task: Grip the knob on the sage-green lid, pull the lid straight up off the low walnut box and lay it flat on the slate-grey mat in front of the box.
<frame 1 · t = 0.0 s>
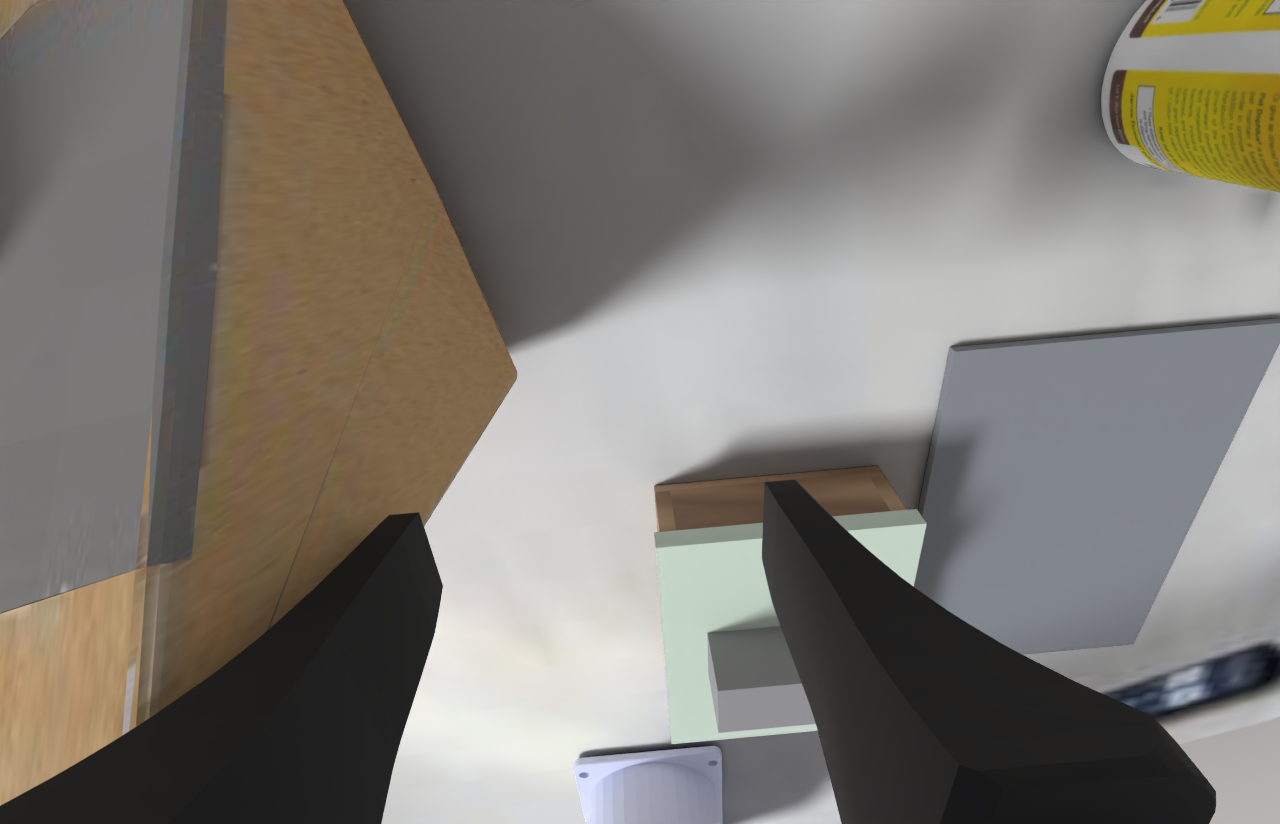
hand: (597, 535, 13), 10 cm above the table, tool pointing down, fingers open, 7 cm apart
walnut box: (762, 576, 27), on the table
slate mat: (1052, 515, 26), on the table
supplement bottle: (1182, 63, 18), on the table
lid: (776, 620, 25), point 2 cm above the table, touching walnut box
sandwich container: (290, 174, 17), point 1 cm above the table, touching gripper
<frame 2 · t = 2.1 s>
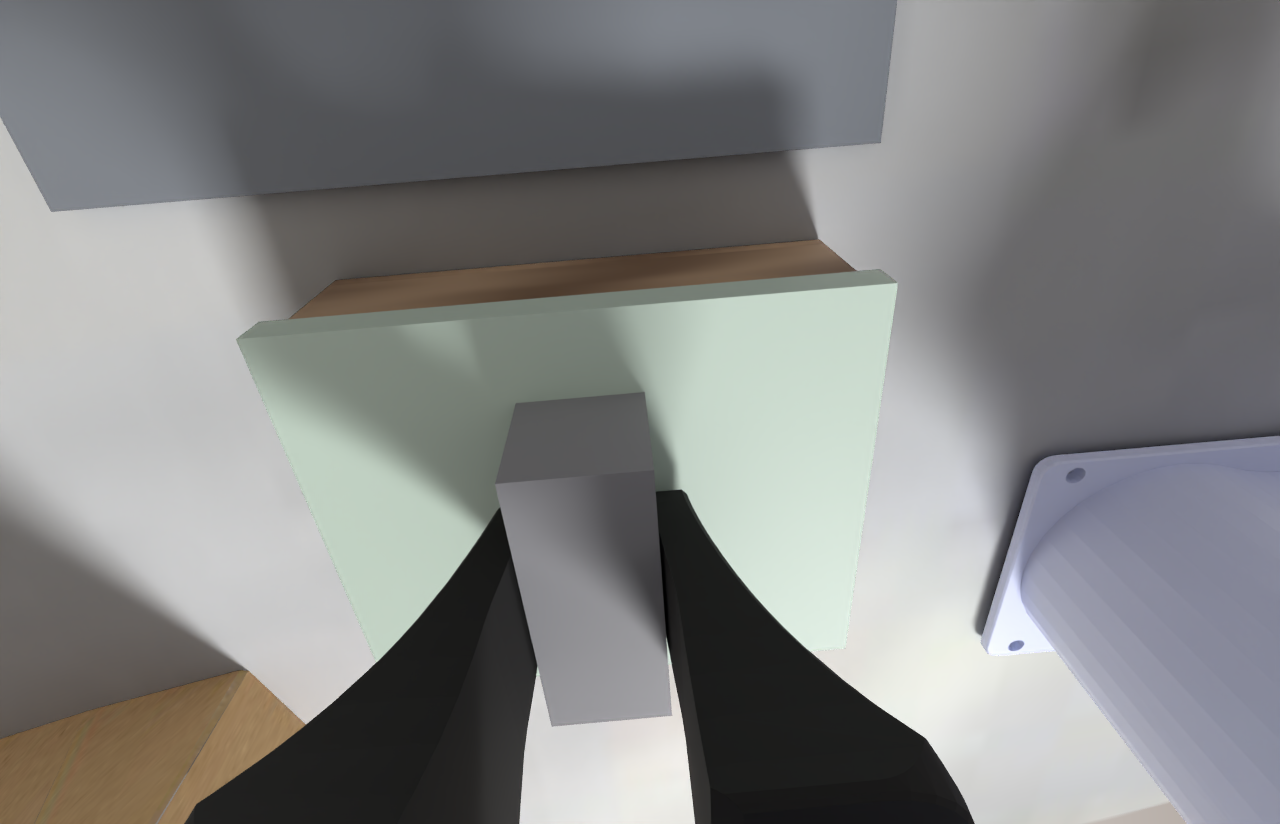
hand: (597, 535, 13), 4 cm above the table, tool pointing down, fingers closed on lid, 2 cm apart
walnut box: (598, 428, 16), on the table
lid: (597, 485, 14), point 2 cm above the table, touching gripper, walnut box
sandwich container: (145, 775, 23), on the table
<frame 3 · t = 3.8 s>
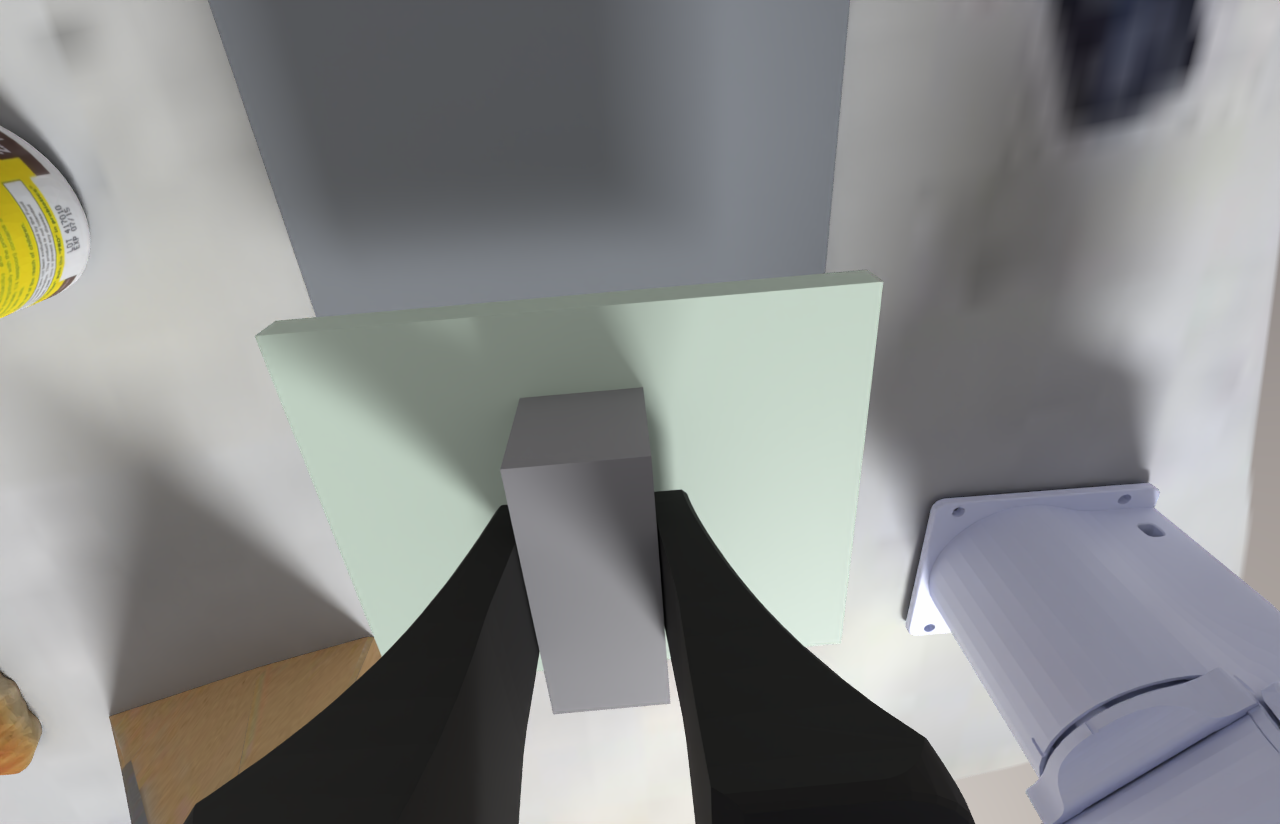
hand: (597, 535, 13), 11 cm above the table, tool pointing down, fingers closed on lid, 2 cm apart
slate mat: (554, 148, 19), on the table
supplement bottle: (5, 204, 19), on the table
lid: (598, 481, 14), point 8 cm above the table, touching gripper
sandwich container: (288, 718, 32), on the table
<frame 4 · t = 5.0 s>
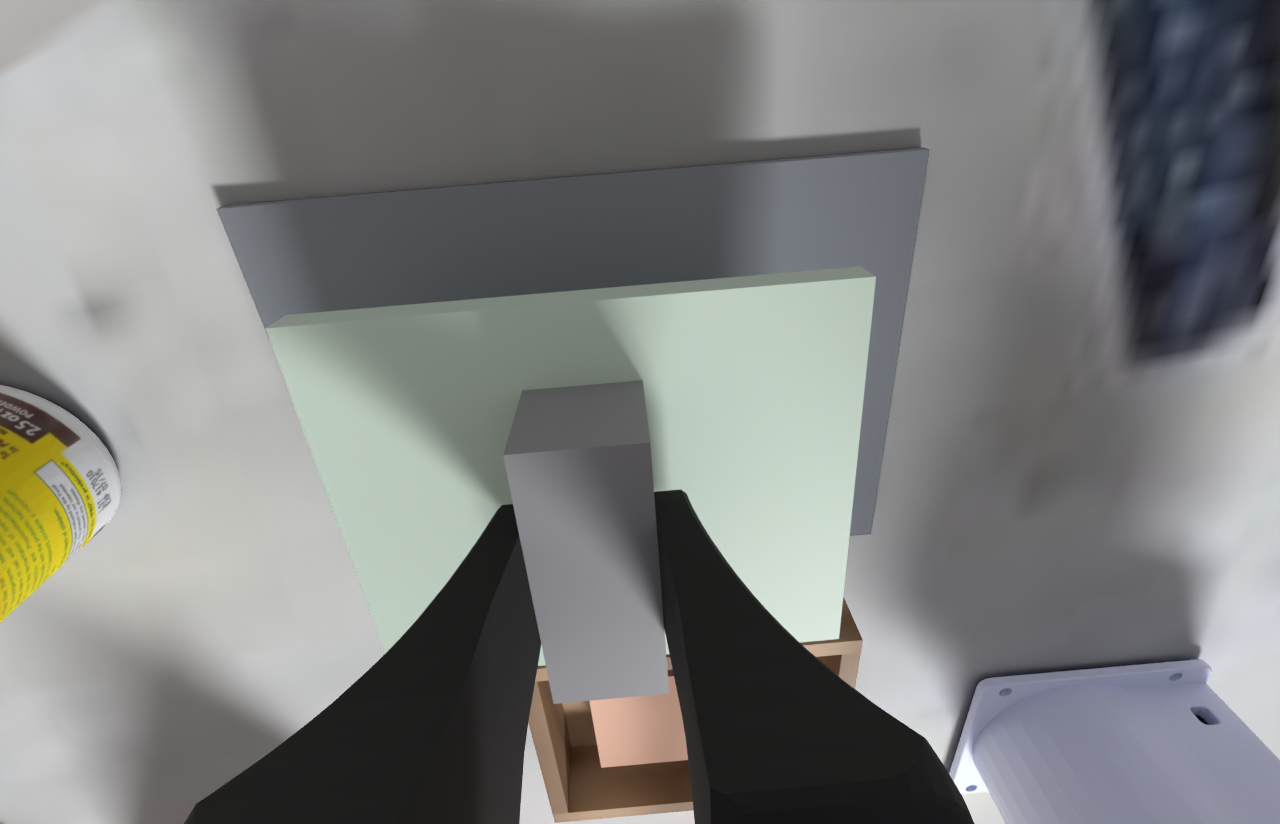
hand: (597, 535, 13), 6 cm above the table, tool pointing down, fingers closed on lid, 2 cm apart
walnut box: (683, 667, 24), on the table
slate mat: (600, 392, 18), on the table
supplement bottle: (32, 452, 18), on the table
lid: (598, 476, 15), point 4 cm above the table, touching gripper
when the fingers open (4 cm above the table, at t = 5.7 s): lid stays where it is, resting on slate mat.
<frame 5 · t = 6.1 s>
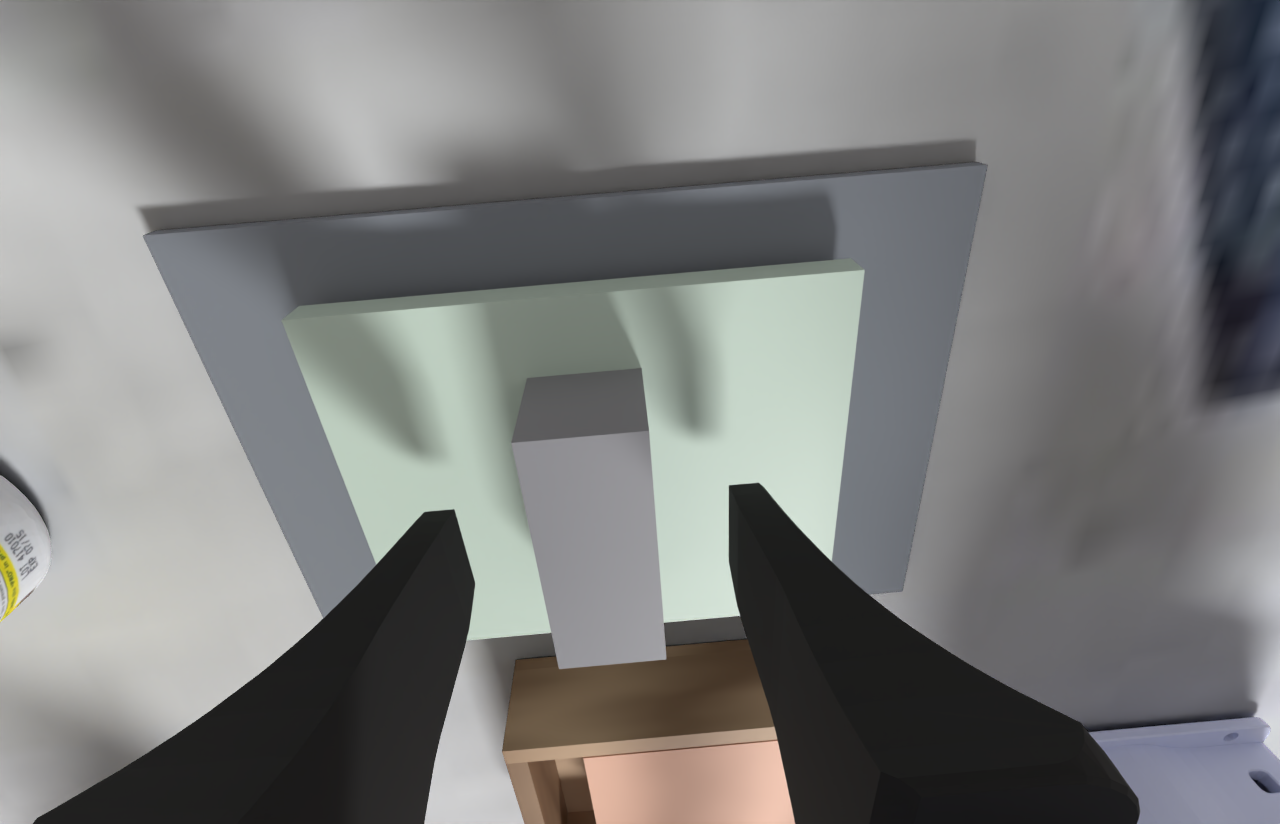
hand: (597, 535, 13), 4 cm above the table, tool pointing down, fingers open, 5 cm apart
walnut box: (691, 729, 22), on the table
slate mat: (598, 440, 16), on the table
lid: (599, 456, 15), resting on slate mat
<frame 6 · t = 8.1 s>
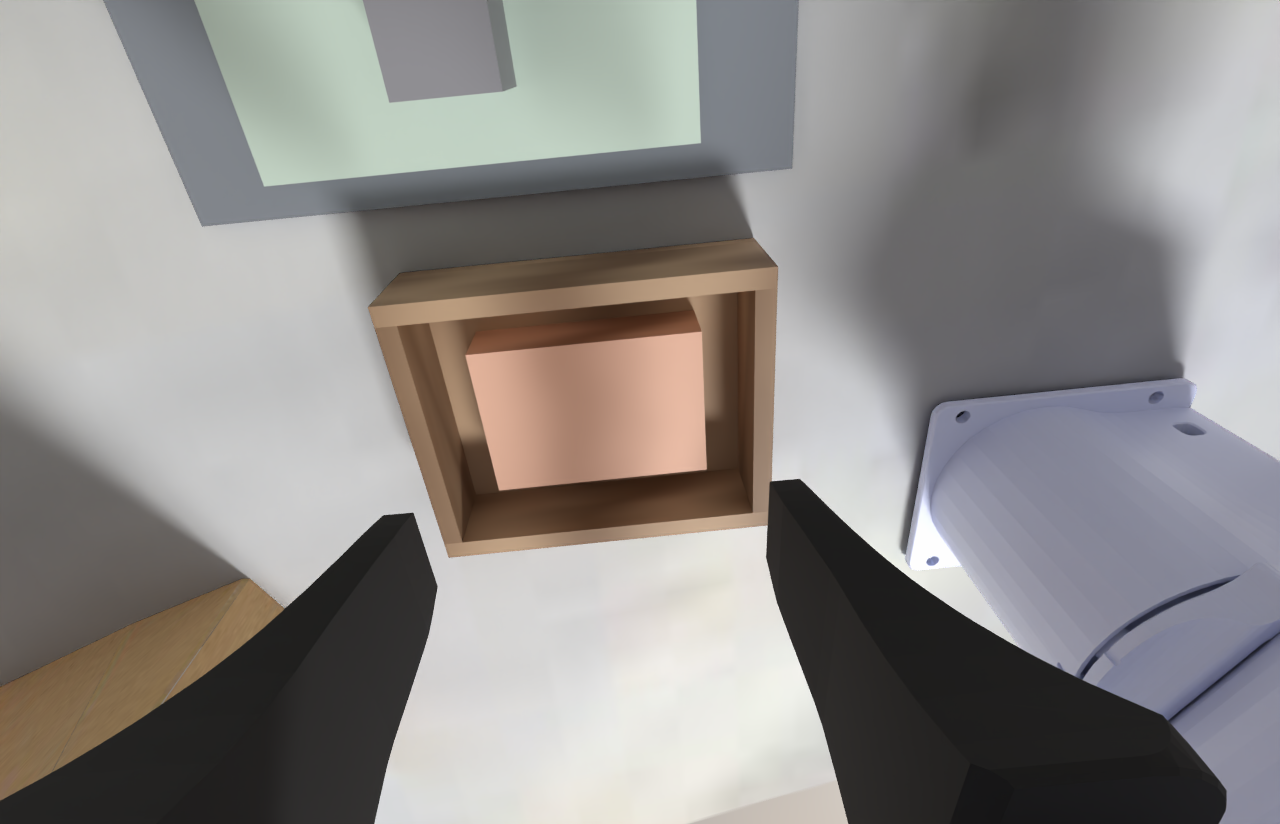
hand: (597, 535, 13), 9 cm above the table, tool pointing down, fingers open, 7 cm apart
walnut box: (594, 384, 21), on the table
sandwich container: (185, 684, 28), on the table
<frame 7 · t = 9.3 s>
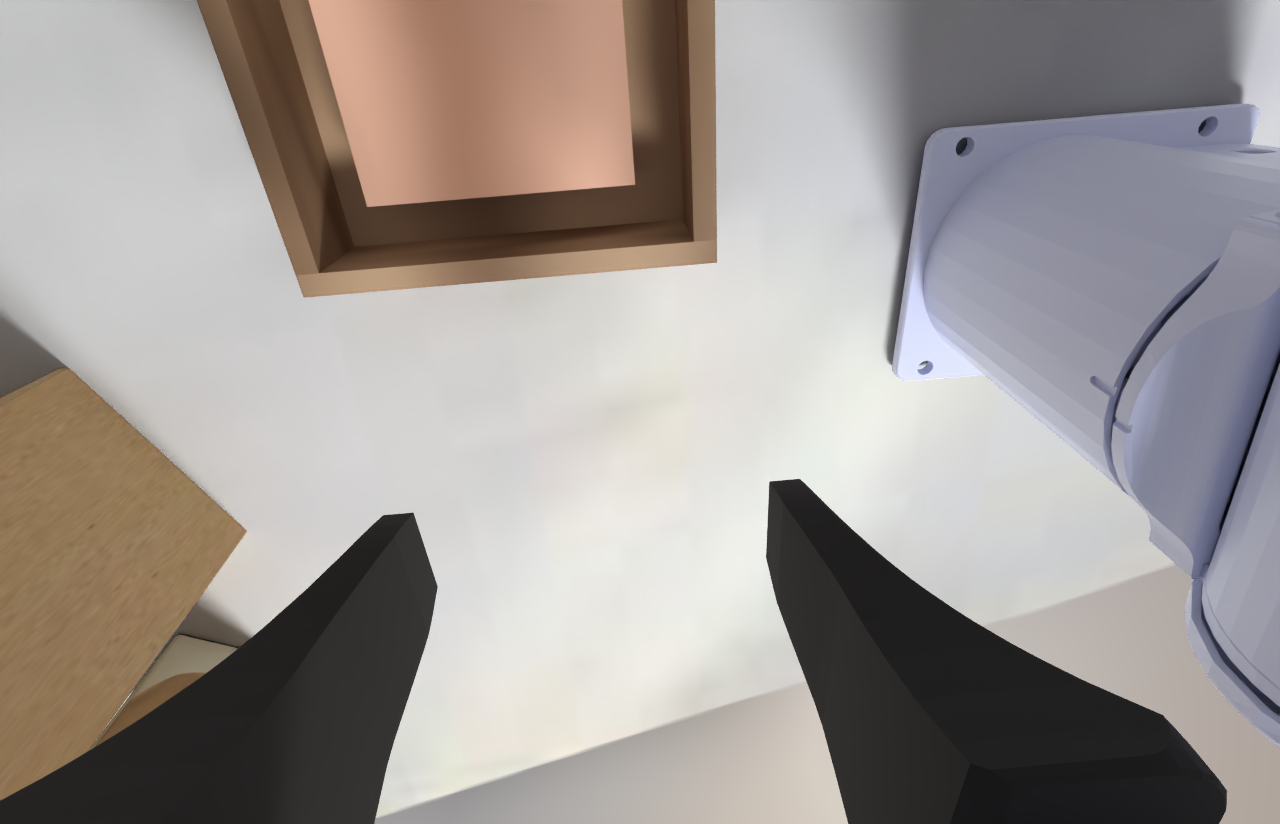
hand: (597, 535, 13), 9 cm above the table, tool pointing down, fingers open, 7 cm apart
walnut box: (496, 84, 17), on the table
skincare box: (222, 680, 28), on the table
sandwich container: (20, 527, 24), on the table
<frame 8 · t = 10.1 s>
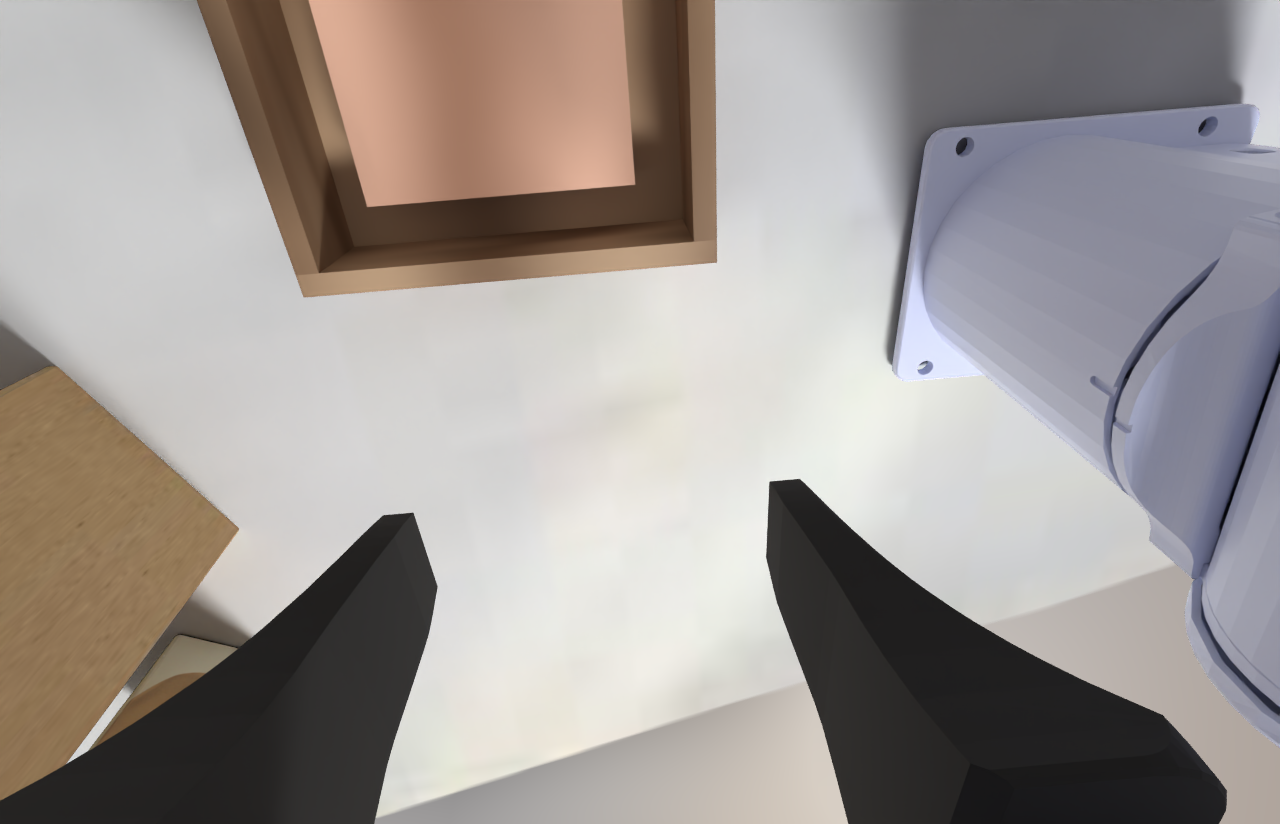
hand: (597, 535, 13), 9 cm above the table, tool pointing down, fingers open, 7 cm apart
walnut box: (496, 84, 17), on the table
skincare box: (222, 680, 28), on the table
sandwich container: (13, 527, 24), on the table
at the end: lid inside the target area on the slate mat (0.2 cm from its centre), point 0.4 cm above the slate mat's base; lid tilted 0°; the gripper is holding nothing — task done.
